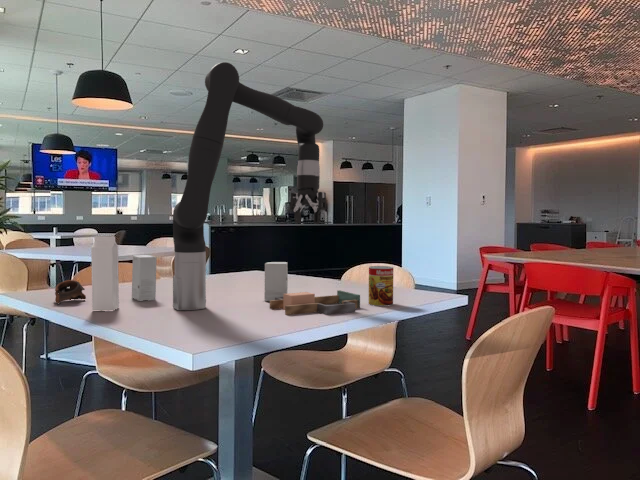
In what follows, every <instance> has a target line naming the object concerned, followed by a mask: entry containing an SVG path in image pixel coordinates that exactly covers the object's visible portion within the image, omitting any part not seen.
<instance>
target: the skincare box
mask: <svg viewBox="0 0 640 480" xmlns="http://www.w3.org/2000/svg"><path fill="white" fill-rule="evenodd" d="M157 258H158V257H157V256H153V255H149V254H133V255H132V270H131V272H132V273H131V274H132V275H131V299H133V298H134V299H133V300H136V299H137V300H136V301H137V302H144V301H143V300H148V301H156V297H157V294H156V293H157V291H156V290H157V289H156V288H157Z"/></svg>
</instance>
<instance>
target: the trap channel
mask: <svg viewBox="0 0 640 480" xmlns="http://www.w3.org/2000/svg"><path fill="white" fill-rule="evenodd" d="M336 291H337V292H336V294H335V295H334V294H333V295H321V296H315V303H311V304H300V305H288V306H285V310H284V314H285V316H289V315H290V316H291V315H301V314H311V313H319V314H322V315H325V316H327V315H337V314H347V313H355V312H356V309H360V308H361V294H357V293H352V292H350V291H349V292H348V291H344V290H336ZM269 309H270V310H277V309H283V297H275V300H270V301H269Z"/></svg>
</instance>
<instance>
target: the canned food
mask: <svg viewBox="0 0 640 480" xmlns="http://www.w3.org/2000/svg"><path fill="white" fill-rule="evenodd" d="M369 304H370V305H369ZM368 305H369V306H373V305H374V306H375V307H389V306H388V305H391V306H393V305H394V267H393V266H388V265H374V266H368Z"/></svg>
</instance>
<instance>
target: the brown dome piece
mask: <svg viewBox="0 0 640 480" xmlns="http://www.w3.org/2000/svg"><path fill="white" fill-rule="evenodd" d="M54 290H55V292H54V295H55V300H54V301H55V304H57V303H61V302H65V301H70V300H71V299H74V300H82V299H87V297H86V295H85V294H84V293H83V291H85V288H84V286H83V285H82V284H81V283H80V282H79V281H77V280H74V279H68V280H63V281H61V282H59V283H57V284H56V286H55V288H54ZM71 301H72V300H71Z"/></svg>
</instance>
